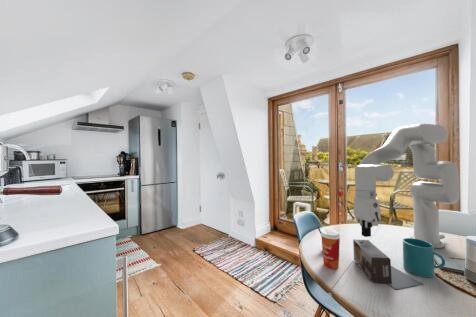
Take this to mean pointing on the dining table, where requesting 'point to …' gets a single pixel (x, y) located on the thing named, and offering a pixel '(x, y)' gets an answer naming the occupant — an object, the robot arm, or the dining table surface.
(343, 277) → the dining table surface
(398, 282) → the mat
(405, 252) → the cup
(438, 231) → the robot arm
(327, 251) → the paper cup
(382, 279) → the coffee box
